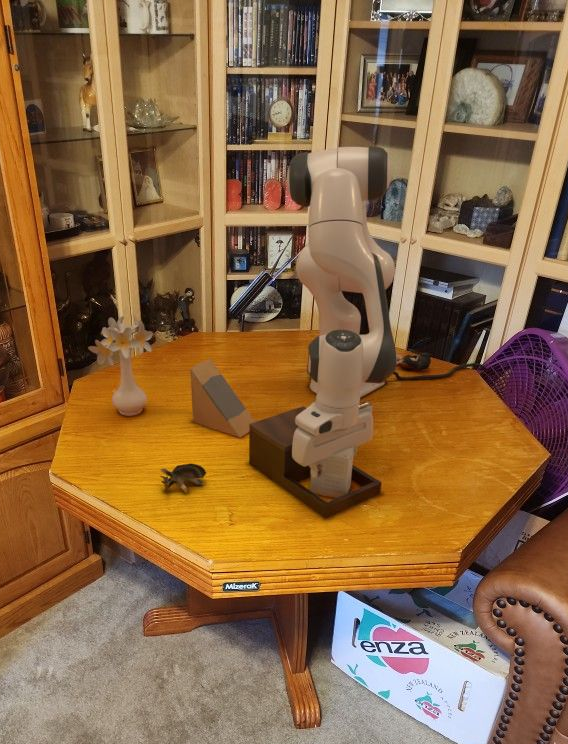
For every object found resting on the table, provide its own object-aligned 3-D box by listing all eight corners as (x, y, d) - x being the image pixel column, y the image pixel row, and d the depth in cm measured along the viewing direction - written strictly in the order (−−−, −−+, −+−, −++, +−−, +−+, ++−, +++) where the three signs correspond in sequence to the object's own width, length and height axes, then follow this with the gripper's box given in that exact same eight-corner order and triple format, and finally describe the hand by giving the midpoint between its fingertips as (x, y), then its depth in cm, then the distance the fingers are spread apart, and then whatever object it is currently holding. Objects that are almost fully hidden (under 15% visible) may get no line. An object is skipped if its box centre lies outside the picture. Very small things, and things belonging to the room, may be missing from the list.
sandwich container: (240, 438, 166) (240, 382, 158) (192, 422, 173) (189, 368, 165) (259, 425, 172) (260, 370, 163) (211, 409, 179) (210, 357, 171)
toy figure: (377, 368, 204) (426, 374, 198) (379, 347, 201) (429, 353, 195) (383, 362, 210) (431, 368, 204) (385, 342, 207) (434, 348, 201)
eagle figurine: (175, 500, 141) (211, 482, 144) (160, 469, 140) (198, 452, 143) (167, 500, 148) (202, 483, 151) (153, 471, 147) (189, 454, 150)
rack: (301, 444, 164) (303, 405, 158) (380, 493, 145) (386, 452, 140) (248, 463, 156) (249, 424, 150) (325, 518, 138) (329, 475, 132)
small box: (350, 487, 148) (355, 446, 142) (344, 500, 143) (349, 458, 137) (315, 480, 150) (318, 439, 144) (309, 493, 145) (312, 451, 140)
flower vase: (92, 424, 172) (79, 330, 158) (123, 394, 186) (114, 306, 172) (138, 431, 169) (129, 336, 155) (166, 401, 183) (160, 311, 169)
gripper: (362, 394, 143) (356, 450, 151) (288, 419, 133) (286, 477, 141) (383, 404, 139) (376, 461, 146) (309, 431, 129) (305, 490, 136)
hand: (331, 469), depth 143 cm, fingers closed on small box, 8 cm apart
